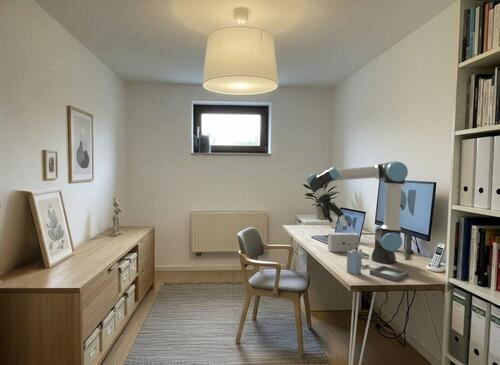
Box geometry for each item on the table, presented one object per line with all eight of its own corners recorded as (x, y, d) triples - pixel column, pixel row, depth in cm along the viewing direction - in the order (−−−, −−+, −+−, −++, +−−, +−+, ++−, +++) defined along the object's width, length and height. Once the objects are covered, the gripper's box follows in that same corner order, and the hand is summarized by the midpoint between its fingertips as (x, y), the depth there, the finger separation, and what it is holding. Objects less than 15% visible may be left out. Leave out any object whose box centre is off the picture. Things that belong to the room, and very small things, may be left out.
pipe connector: (354, 261, 214) (355, 246, 214) (370, 264, 208) (371, 248, 208) (349, 265, 206) (350, 249, 205) (365, 268, 200) (366, 251, 200)
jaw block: (351, 270, 195) (352, 248, 195) (360, 273, 191) (361, 250, 190) (346, 272, 192) (347, 249, 191) (355, 274, 188) (356, 252, 187)
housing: (382, 269, 199) (382, 265, 198) (408, 276, 187) (408, 271, 187) (369, 274, 189) (369, 270, 189) (395, 281, 177) (396, 277, 177)
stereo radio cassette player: (355, 250, 245) (356, 223, 244) (359, 252, 237) (360, 225, 236) (327, 249, 244) (328, 222, 243) (330, 252, 236) (331, 224, 235)
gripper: (328, 200, 217) (345, 228, 208) (307, 199, 199) (325, 230, 190) (337, 193, 214) (355, 221, 204) (316, 192, 195) (335, 223, 186)
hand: (340, 226), depth 197 cm, fingers open, 13 cm apart
